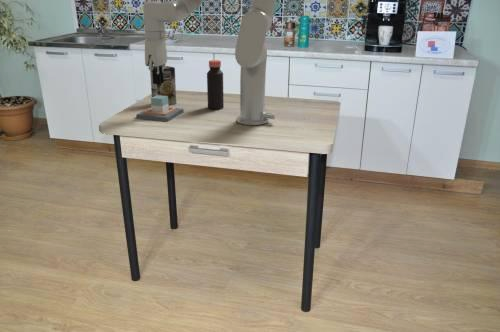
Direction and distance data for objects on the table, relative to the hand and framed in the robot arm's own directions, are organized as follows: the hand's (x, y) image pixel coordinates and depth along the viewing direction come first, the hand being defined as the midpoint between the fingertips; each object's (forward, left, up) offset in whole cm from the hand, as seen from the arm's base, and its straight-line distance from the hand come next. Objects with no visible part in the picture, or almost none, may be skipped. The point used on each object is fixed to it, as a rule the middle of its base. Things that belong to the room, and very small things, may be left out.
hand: (158, 83), depth 187 cm
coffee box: (+7, -17, -13) cm, 23 cm away
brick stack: (0, 0, -12) cm, 12 cm away
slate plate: (0, 0, -13) cm, 13 cm away
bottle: (-17, -18, -13) cm, 28 cm away
